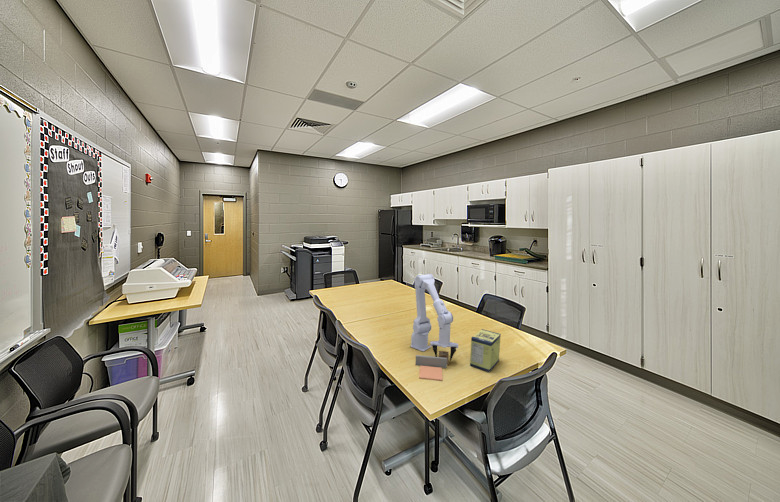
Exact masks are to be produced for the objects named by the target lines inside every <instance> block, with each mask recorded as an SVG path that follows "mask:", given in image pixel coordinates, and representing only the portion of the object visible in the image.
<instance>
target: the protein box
mask: <svg viewBox="0 0 780 502" xmlns="http://www.w3.org/2000/svg"><path fill="white" fill-rule="evenodd" d="M500 347H501V333H499V332H494V331H492V330H491V331H490V330H487V329H483V328H482V329H480V330H479V331H478V332H477V333H475V334H474V335H473V336H471V340H470V356H469V357H470V358H469V366H470V367H473V368H476V369H478V370H482V371H484V372H487V373H490V372H491V371H492V370H493V369H494V368H495V366H496V365H497V364H498V363H499V362H500V350H501V349H500Z"/></svg>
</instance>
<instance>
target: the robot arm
mask: <svg viewBox="0 0 780 502" xmlns="http://www.w3.org/2000/svg"><path fill="white" fill-rule="evenodd" d="M435 282H436V281H435V278H434V275H433V274H432V273H428V274H418V275H416V276H415V277H414V289H415V299H416V300H415V303H416V318H414V320H413V325H412V329H413V332H412V333H411V337H410V339H411V340H410V341H411V343H410V347H411V348H412V349H416V350H418V351H421V352H425V351H426V350H429V349H431V348H432V350H433V353H434V357H438V347H442V348H445V349H446V348H450V355H449V361H450V362H452V360H453V356H454V355H455V353H456V351H457V349H459V343H456V342H452V341H451V324H452V323H453V321H454V315H453V314H452V312H451V311H449V310H448V309H447V307H446V304H445V303H444V301H443V299H440V296H439V294H438V291H437V289H436V286H435ZM426 290H427V293H429V296H430V297H431V299H432V301H433V303H432V306H433V308H434V310H435V312H436V314H437V317H436V318H437V322H438V323H437V324H438V327H439V328H438V330H439V331H438V332H439V333H438V340H432V341H430V345H428V344H429V334H430V332H431V330H432V323H431V319H430V318H429V317H427V306H426V305H427V303H426V293H425V291H426Z"/></svg>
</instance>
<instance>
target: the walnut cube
mask: <svg viewBox="0 0 780 502" xmlns="http://www.w3.org/2000/svg"><path fill="white" fill-rule="evenodd" d="M438 357H443V358H447V366H449V361H450V355H449V351H446V350H445V351H443V350H438Z"/></svg>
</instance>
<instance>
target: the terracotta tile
mask: <svg viewBox="0 0 780 502" xmlns="http://www.w3.org/2000/svg"><path fill="white" fill-rule="evenodd" d="M418 376H419V377H418V379H422V380H431V381H441V382H443V368H441V367H430V366H419V375H418Z"/></svg>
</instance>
